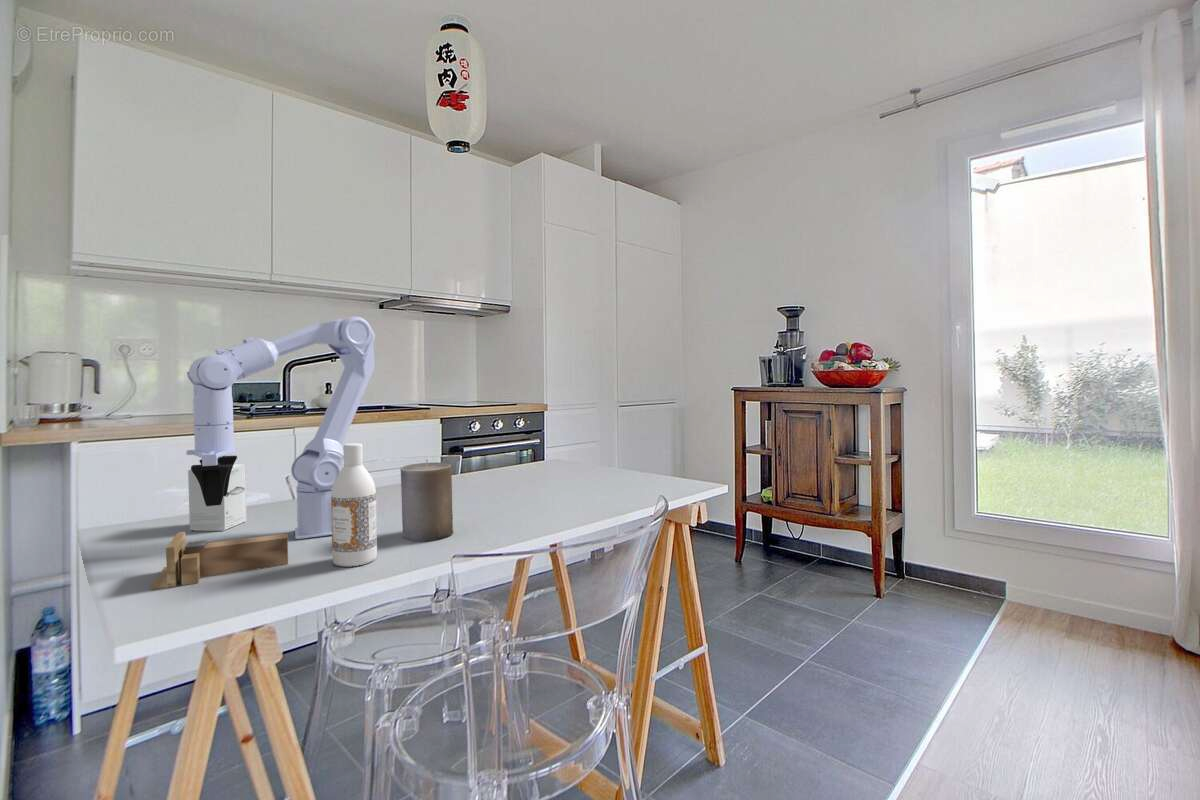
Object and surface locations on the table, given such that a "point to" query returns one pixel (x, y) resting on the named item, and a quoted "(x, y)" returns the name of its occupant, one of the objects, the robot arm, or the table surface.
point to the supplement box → (218, 515)
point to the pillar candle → (426, 501)
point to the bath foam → (353, 512)
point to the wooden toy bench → (178, 565)
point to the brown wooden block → (240, 554)
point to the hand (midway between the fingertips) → (216, 500)
